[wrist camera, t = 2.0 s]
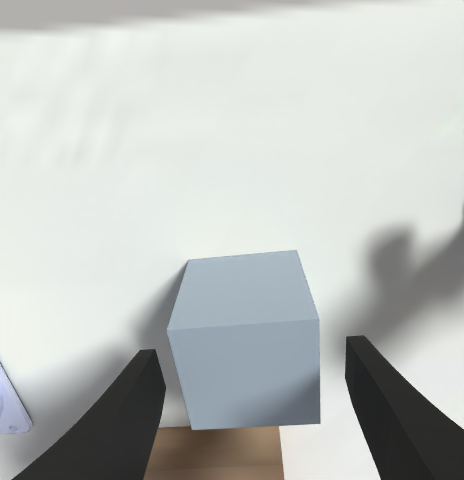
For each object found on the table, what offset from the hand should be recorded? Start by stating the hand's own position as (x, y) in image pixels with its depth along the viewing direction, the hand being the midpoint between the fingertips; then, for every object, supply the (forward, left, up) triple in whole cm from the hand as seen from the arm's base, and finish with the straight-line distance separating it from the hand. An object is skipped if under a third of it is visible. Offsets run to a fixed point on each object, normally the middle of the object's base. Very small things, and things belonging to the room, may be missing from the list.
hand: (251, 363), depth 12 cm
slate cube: (0, 0, -4) cm, 4 cm away
